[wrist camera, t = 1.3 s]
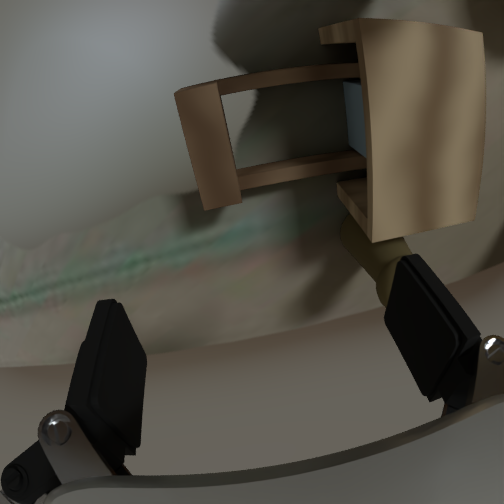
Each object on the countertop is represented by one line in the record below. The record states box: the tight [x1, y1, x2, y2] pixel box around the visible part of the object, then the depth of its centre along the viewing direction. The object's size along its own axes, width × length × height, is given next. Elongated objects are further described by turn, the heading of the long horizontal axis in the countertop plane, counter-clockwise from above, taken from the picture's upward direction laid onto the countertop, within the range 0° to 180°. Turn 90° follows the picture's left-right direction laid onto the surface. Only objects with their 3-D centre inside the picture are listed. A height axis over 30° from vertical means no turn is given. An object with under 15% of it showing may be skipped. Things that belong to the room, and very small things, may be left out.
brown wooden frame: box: [174, 62, 367, 211], centre depth 24 cm, size 21×9×4 cm, turn 100°
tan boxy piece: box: [318, 18, 486, 243], centre depth 22 cm, size 10×16×8 cm, turn 11°
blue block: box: [343, 80, 366, 158], centre depth 23 cm, size 6×6×6 cm
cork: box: [340, 213, 427, 307], centre depth 28 cm, size 6×6×11 cm
